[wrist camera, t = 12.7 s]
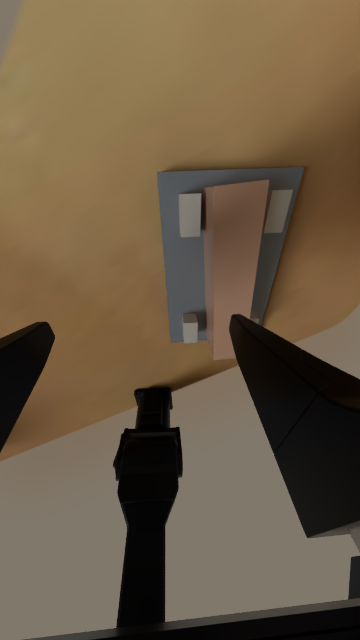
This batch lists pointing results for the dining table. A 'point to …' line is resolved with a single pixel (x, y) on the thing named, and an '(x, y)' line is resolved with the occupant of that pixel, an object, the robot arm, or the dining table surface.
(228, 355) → the clay strip
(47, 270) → the dining table surface
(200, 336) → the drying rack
